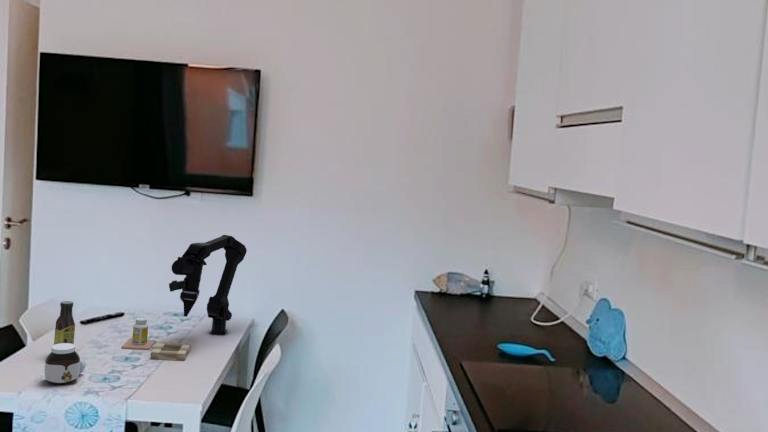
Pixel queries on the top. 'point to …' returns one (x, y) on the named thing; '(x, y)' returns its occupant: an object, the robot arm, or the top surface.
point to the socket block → (170, 351)
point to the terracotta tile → (139, 347)
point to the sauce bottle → (65, 324)
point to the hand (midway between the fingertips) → (186, 314)
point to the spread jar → (63, 364)
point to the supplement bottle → (140, 331)
